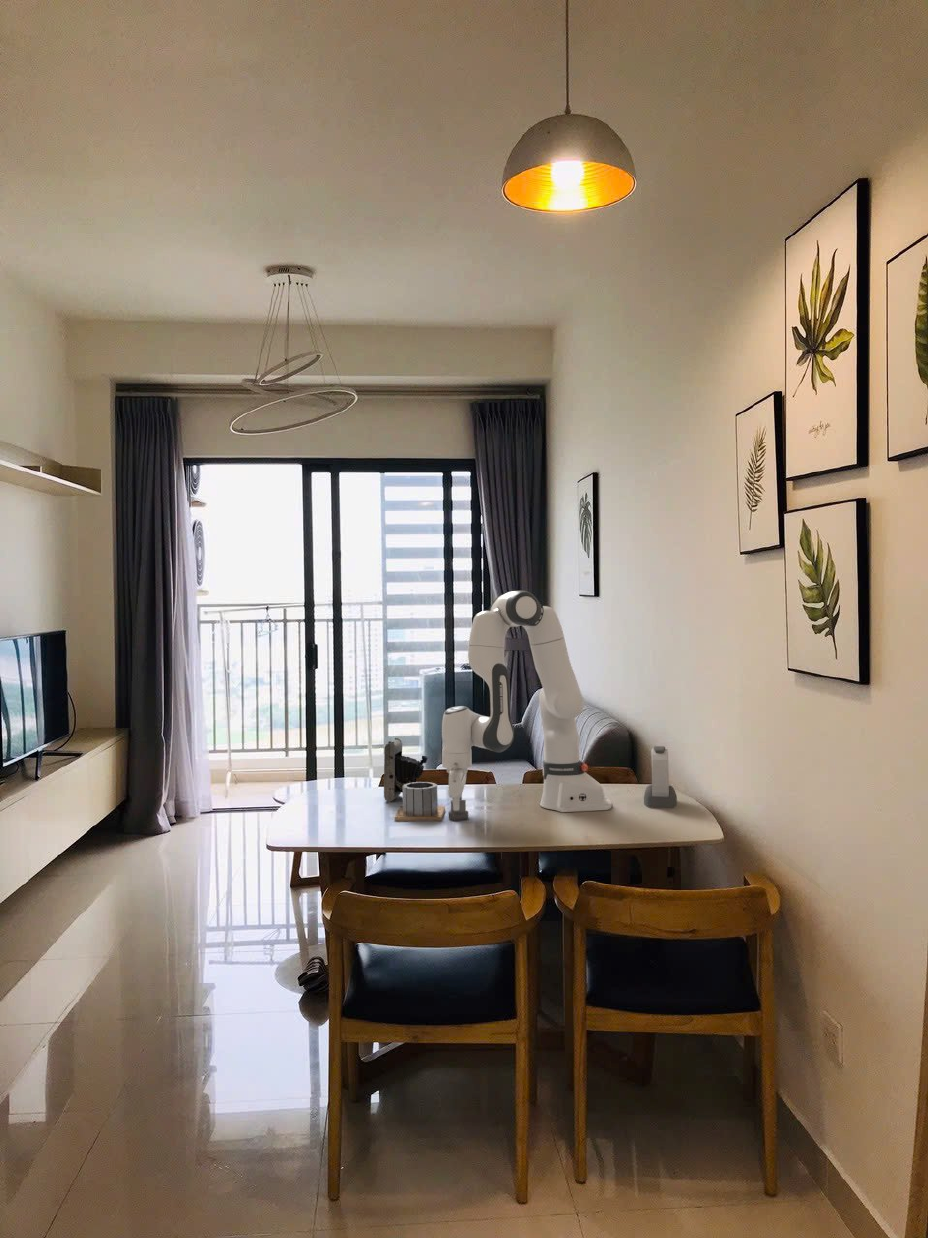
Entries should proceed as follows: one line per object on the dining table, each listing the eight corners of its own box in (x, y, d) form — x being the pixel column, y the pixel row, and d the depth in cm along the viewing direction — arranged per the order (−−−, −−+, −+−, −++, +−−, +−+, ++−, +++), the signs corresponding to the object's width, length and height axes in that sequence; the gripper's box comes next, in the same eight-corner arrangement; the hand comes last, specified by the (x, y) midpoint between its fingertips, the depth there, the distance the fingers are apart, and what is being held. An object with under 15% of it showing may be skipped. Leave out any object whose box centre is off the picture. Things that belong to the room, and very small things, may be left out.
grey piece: (644, 797, 290) (643, 742, 290) (676, 798, 288) (675, 742, 287) (643, 809, 274) (642, 750, 274) (677, 810, 272) (676, 751, 272)
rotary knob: (469, 816, 270) (468, 798, 270) (467, 821, 264) (467, 802, 264) (449, 816, 270) (449, 798, 270) (447, 821, 264) (447, 803, 264)
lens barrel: (445, 809, 278) (444, 780, 278) (441, 821, 264) (440, 790, 264) (401, 810, 279) (400, 781, 279) (394, 821, 265) (394, 790, 265)
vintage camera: (428, 804, 288) (429, 743, 287) (382, 801, 291) (384, 741, 290) (435, 798, 297) (436, 739, 297) (391, 795, 300) (392, 737, 300)
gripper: (465, 767, 256) (465, 814, 257) (469, 754, 277) (470, 798, 277) (443, 767, 257) (444, 814, 257) (449, 754, 277) (450, 798, 277)
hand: (457, 806), depth 267 cm, fingers open, 8 cm apart
